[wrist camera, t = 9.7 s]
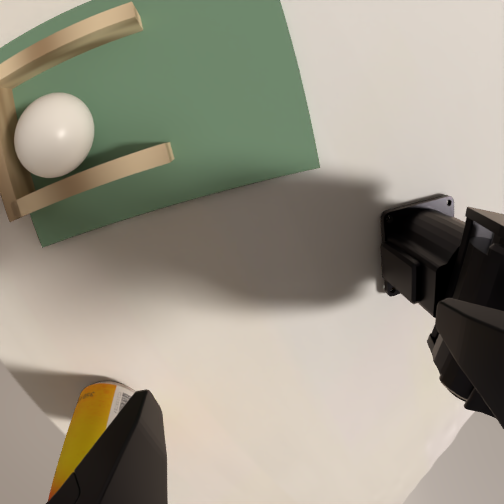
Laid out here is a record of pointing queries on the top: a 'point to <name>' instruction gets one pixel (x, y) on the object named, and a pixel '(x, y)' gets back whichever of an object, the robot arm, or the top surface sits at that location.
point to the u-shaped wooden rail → (5, 120)
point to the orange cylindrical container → (89, 425)
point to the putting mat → (176, 106)
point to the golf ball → (54, 135)
